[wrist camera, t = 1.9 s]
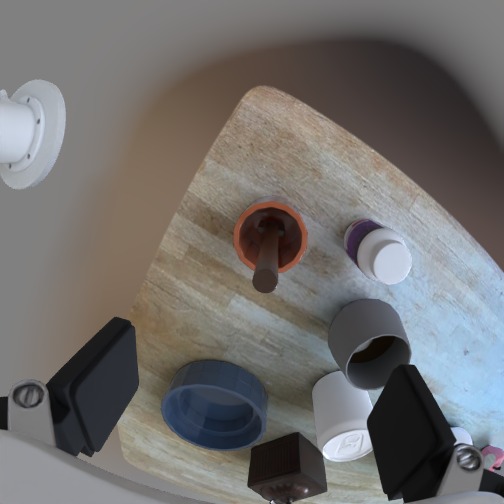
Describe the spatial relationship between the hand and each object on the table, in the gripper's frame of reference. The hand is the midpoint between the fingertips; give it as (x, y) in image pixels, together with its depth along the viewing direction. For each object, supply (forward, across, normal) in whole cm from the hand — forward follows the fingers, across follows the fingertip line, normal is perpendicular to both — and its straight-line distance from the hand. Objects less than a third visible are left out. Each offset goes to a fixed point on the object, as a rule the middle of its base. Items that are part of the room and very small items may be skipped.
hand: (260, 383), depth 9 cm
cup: (+26, -13, +10) cm, 31 cm away
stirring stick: (+25, 0, -1) cm, 25 cm away
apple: (+26, -71, +49) cm, 90 cm away
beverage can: (+26, -14, +22) cm, 36 cm away
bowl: (+26, +4, +26) cm, 37 cm away
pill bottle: (+26, -11, -1) cm, 28 cm away
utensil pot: (+26, 0, -1) cm, 26 cm away
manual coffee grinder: (+26, -12, +42) cm, 51 cm away
